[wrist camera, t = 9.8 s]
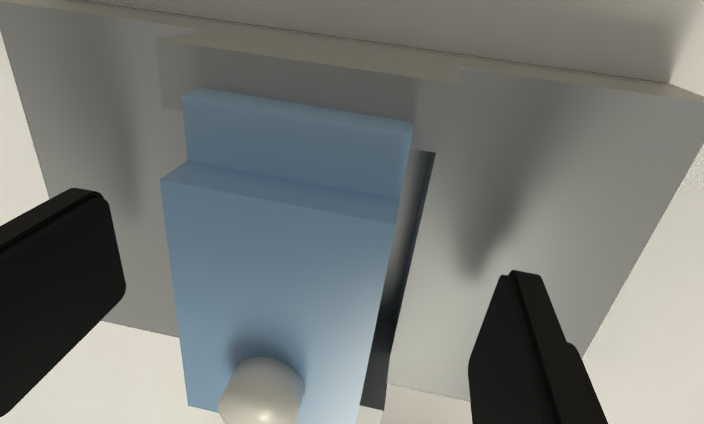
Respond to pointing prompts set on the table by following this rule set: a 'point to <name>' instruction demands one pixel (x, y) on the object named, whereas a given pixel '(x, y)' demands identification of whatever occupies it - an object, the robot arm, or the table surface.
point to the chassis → (420, 176)
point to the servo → (280, 253)
